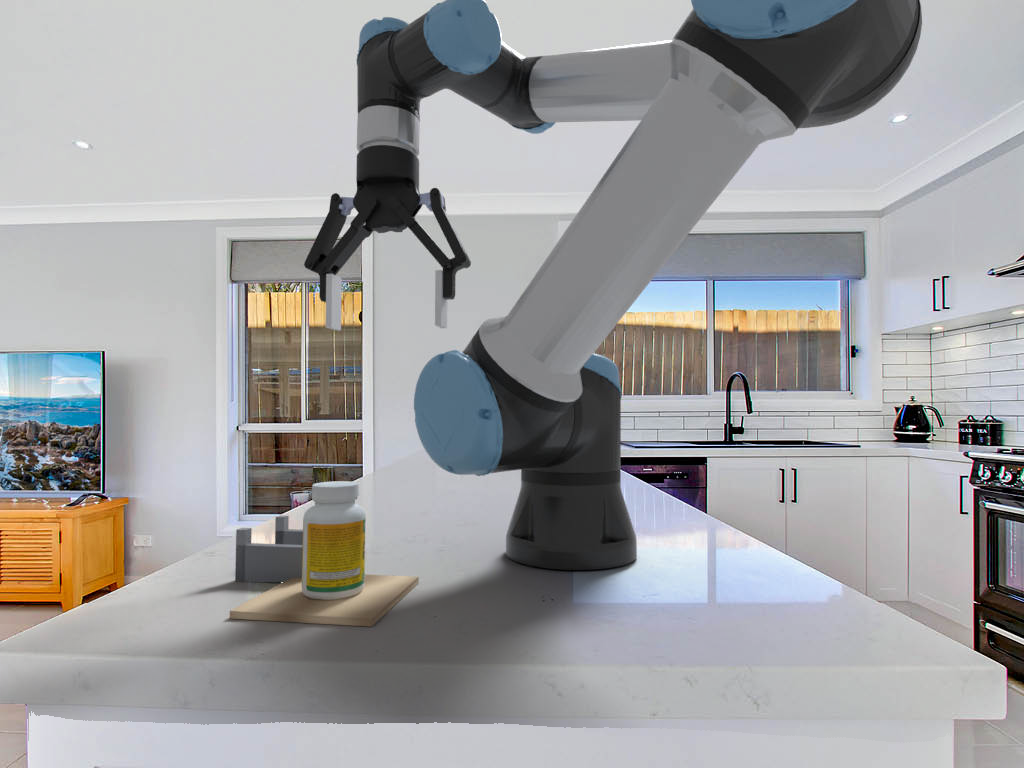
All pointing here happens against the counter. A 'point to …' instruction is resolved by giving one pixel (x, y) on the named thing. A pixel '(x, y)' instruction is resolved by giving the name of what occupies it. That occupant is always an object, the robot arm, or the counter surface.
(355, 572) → the supplement bottle
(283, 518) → the holder
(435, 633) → the counter surface
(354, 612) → the square wooden board
